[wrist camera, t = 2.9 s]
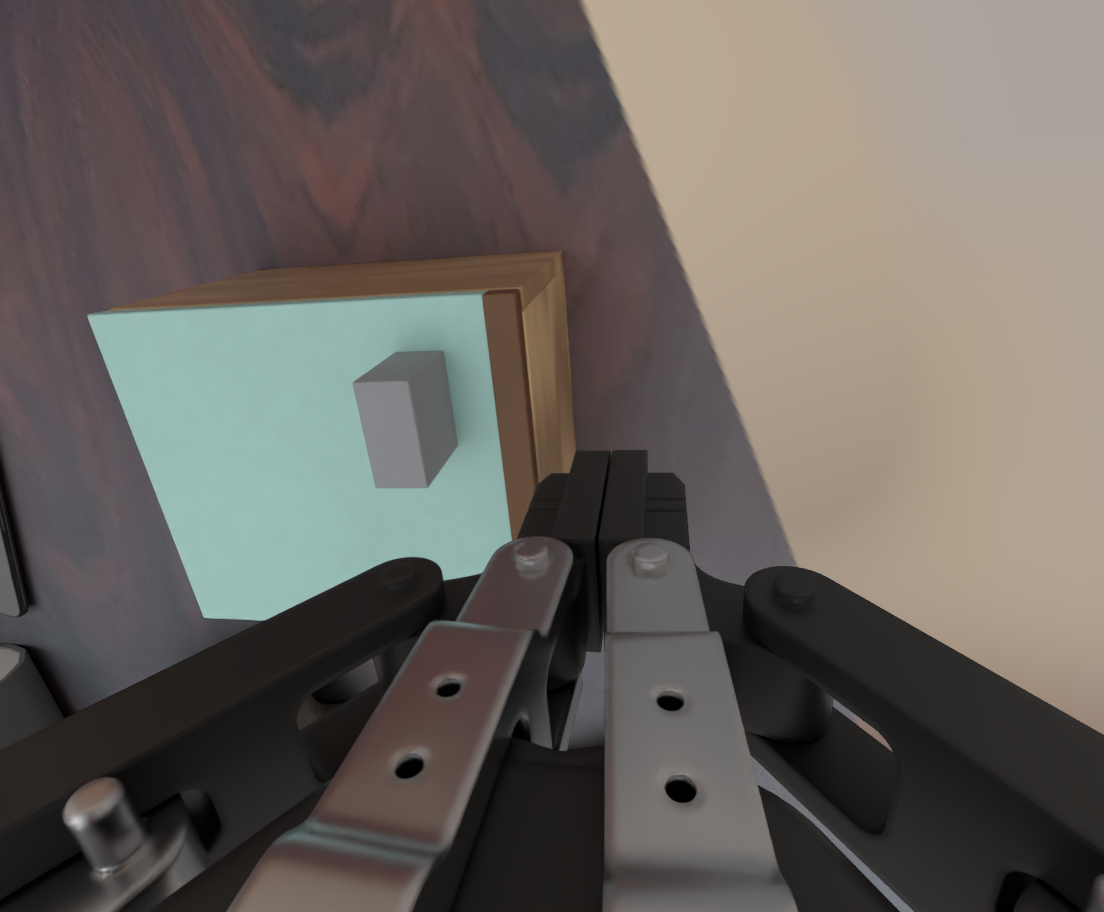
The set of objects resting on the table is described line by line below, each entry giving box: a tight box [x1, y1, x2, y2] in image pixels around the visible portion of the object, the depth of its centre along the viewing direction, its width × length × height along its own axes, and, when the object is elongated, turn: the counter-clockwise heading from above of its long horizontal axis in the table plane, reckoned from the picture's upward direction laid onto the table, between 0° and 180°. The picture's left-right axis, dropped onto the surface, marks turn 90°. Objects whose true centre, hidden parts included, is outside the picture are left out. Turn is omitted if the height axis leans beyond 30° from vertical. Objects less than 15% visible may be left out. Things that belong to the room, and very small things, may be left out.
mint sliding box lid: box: [87, 289, 539, 621], centre depth 21 cm, size 12×14×4 cm
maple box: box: [109, 250, 576, 483], centre depth 26 cm, size 12×14×9 cm
